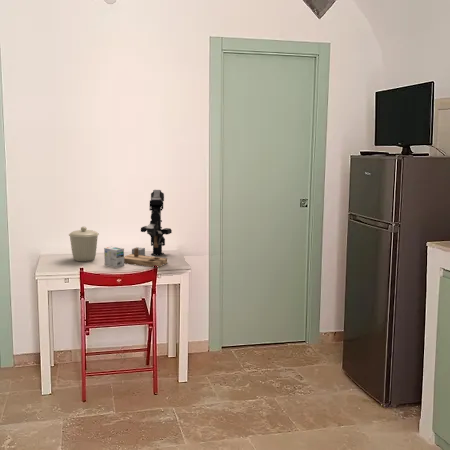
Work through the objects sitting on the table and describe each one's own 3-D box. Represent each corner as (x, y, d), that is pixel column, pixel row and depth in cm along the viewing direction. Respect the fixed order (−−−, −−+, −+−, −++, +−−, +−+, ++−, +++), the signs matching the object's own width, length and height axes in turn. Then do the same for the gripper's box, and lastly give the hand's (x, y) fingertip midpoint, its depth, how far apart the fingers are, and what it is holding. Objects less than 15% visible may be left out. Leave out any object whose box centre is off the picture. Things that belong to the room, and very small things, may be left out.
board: (131, 258, 375) (130, 246, 374) (167, 263, 365) (167, 250, 364) (120, 262, 364) (120, 250, 363) (157, 267, 354) (157, 254, 353)
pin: (155, 246, 364) (155, 235, 363) (159, 247, 363) (159, 235, 362) (153, 247, 362) (153, 236, 361) (156, 247, 361) (157, 236, 360)
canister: (102, 257, 378) (102, 224, 374) (93, 263, 360) (93, 229, 356) (75, 255, 379) (74, 223, 376) (65, 262, 362) (64, 228, 358)
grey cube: (136, 256, 382) (136, 247, 380) (144, 257, 379) (144, 248, 378) (131, 258, 376) (131, 249, 375) (140, 259, 374) (140, 250, 373)
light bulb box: (124, 265, 358) (124, 248, 356) (116, 267, 352) (116, 250, 350) (112, 262, 364) (111, 245, 362) (104, 265, 358) (103, 247, 356)
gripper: (135, 219, 356) (136, 245, 358) (163, 222, 349) (163, 248, 351) (145, 216, 366) (145, 241, 369) (172, 219, 359) (172, 244, 362)
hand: (156, 244), depth 362 cm, fingers closed on pin, 3 cm apart
